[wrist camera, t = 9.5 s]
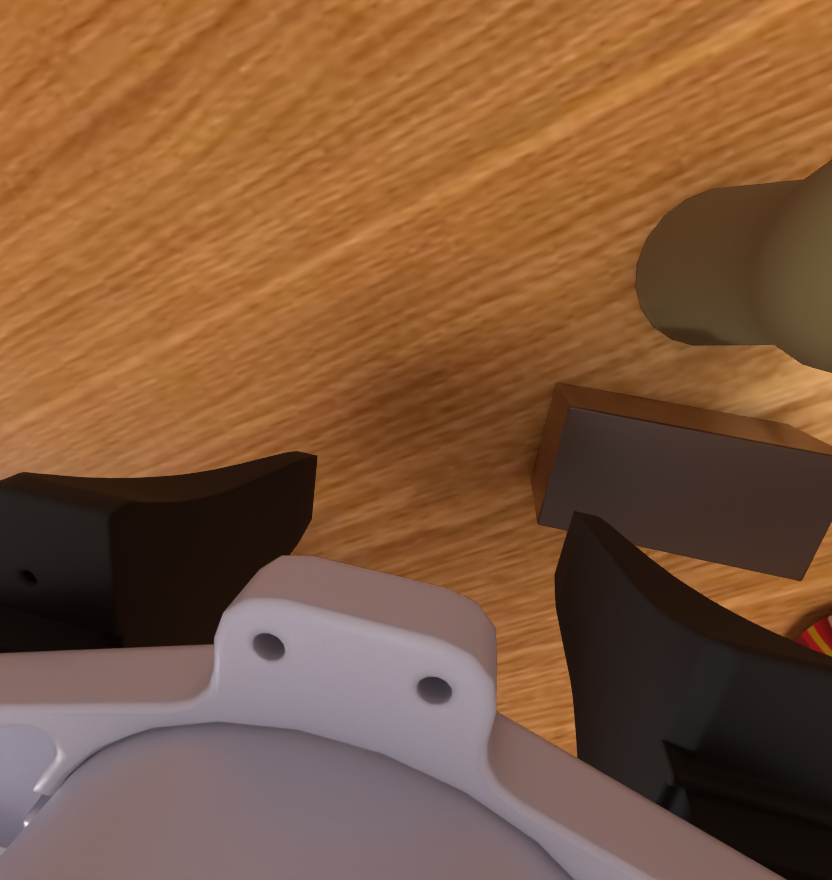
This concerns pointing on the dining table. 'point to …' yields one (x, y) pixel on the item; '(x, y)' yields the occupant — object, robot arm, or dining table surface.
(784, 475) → the walnut block
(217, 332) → the dining table surface
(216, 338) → the dining table surface
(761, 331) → the olive rounded upright piece
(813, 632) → the soda can
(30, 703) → the robot arm
